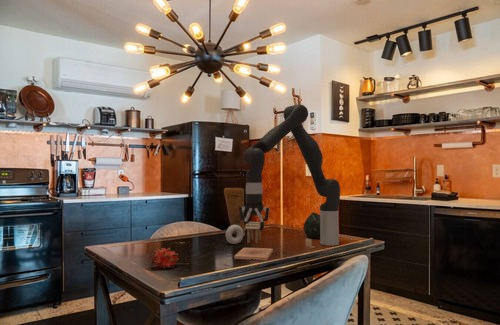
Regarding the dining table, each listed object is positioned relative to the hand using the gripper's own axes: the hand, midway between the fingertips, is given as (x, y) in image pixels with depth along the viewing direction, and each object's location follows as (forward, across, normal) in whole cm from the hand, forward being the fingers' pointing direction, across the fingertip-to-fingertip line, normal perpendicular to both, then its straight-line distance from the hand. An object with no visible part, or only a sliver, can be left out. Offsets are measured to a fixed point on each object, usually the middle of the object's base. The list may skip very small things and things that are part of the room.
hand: (254, 230), depth 167 cm
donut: (+11, -15, +23) cm, 30 cm away
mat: (+11, 0, 0) cm, 11 cm away
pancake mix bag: (+11, -22, +53) cm, 59 cm away
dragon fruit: (+11, -30, -28) cm, 43 cm away
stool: (+5, 0, 0) cm, 5 cm away
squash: (+11, +26, +50) cm, 57 cm away
